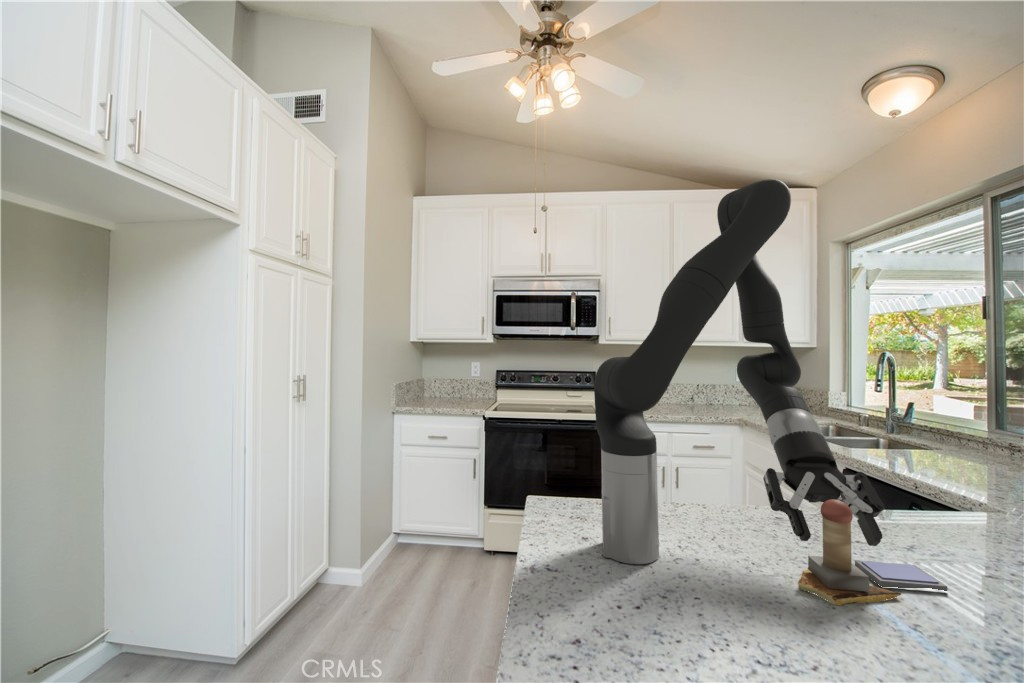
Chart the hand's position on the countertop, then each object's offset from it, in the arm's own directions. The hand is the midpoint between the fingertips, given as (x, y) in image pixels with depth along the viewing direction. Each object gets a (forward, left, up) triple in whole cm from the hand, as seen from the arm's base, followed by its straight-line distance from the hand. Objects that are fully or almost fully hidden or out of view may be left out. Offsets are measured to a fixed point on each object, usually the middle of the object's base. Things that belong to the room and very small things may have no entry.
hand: (840, 541), depth 58 cm
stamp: (0, +1, -6) cm, 6 cm away
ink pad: (+10, +5, -7) cm, 13 cm away
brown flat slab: (0, +1, -8) cm, 8 cm away
